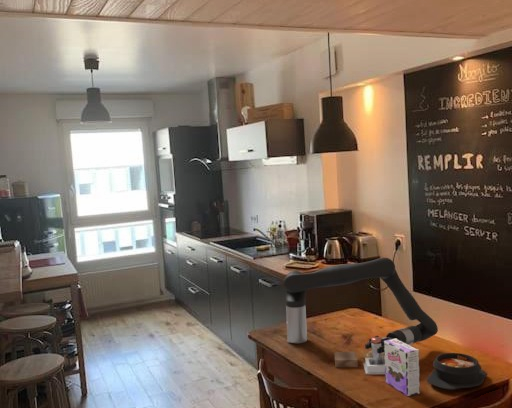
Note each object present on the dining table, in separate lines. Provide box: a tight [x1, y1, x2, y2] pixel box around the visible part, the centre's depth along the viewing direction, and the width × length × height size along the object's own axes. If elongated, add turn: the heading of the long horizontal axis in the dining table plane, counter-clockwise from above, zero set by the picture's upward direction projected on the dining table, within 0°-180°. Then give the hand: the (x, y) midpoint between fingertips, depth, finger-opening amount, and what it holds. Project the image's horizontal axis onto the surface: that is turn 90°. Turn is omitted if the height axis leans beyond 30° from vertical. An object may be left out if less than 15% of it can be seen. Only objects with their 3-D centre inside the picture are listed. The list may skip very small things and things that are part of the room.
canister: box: [370, 336, 383, 365], centre depth 210 cm, size 4×4×12 cm
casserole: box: [426, 352, 488, 391], centre depth 195 cm, size 25×19×8 cm
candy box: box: [383, 338, 421, 397], centre depth 192 cm, size 14×6×16 cm, turn 21°
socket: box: [362, 357, 385, 375], centre depth 210 cm, size 10×10×3 cm
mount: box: [333, 351, 359, 368], centre depth 218 cm, size 9×9×3 cm
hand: (372, 348), depth 208 cm, fingers open, 6 cm apart
